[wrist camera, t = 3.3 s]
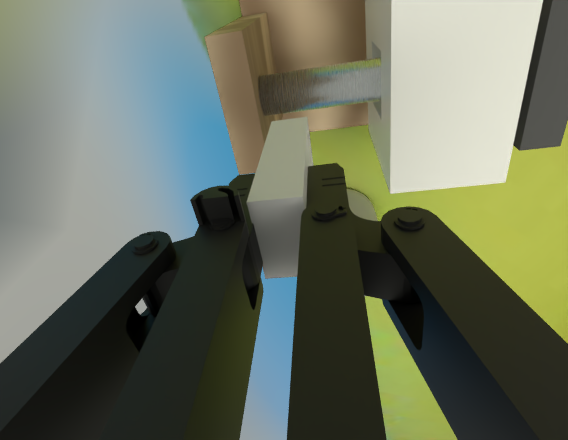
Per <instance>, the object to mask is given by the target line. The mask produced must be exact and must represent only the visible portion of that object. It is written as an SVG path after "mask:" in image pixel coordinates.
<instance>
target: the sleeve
mask: <svg viewBox="0 0 568 440" xmlns="http://www.w3.org/2000/svg"><path fill="white" fill-rule="evenodd" d="M542 3H543V0H365V20H366V55H367V59H374V58H380V57H381V100H380V101H372V102H368V126H369V133H370V136H371V139H372V142H373V145H374V148H375V150H376V153H377V156H378V159H379V162H380V165H381V168H382V171H383V174H384V177H385V180H386V183H387V186H388V189H389V192H390V194H391V193H402V192H412V191H422V190H433V189H443V188H453V187H464V186H474V185H484V184H495V183H505V182H506V177H507V172H508V167H509V162H510V158H511V153H512V148H513V143H514V138H515V134H516V129H517V124H518V119H519V114H520V109H521V105H522V100H523V95H524V90H525V85H526V81H527V76H528V71H529V66H530V61H531V56H532V52H533V47H534V42H535V37H536V32H537V28H538V23H539V18H540V13H541V8H542Z"/></svg>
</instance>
